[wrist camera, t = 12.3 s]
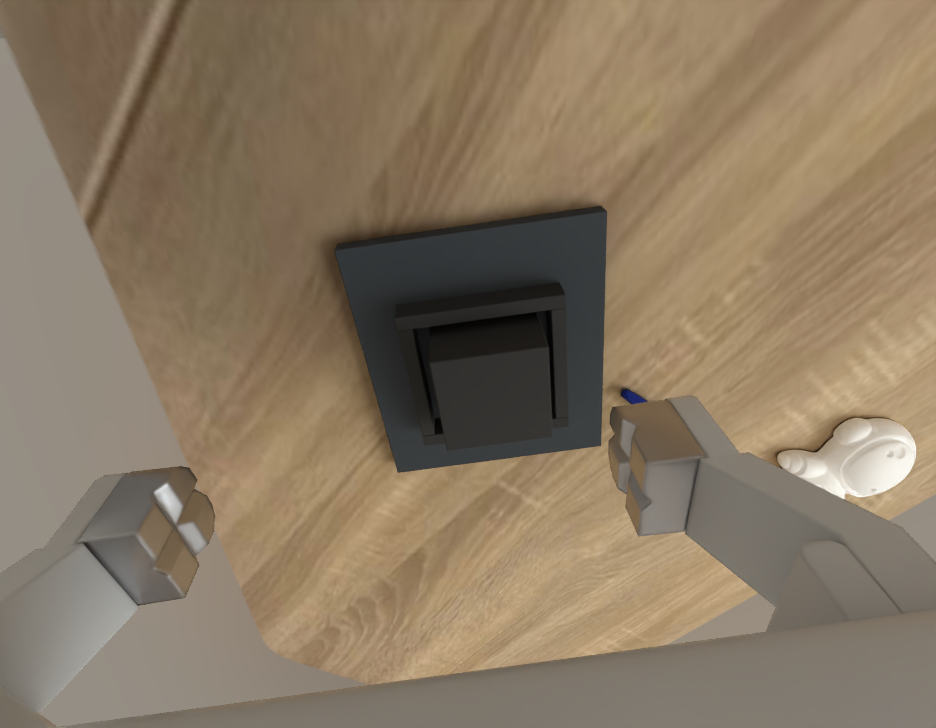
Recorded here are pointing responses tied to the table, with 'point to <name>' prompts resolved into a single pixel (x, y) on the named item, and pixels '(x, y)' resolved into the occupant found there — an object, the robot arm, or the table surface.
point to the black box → (491, 381)
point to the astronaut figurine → (856, 458)
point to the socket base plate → (475, 298)
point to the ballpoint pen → (632, 397)
